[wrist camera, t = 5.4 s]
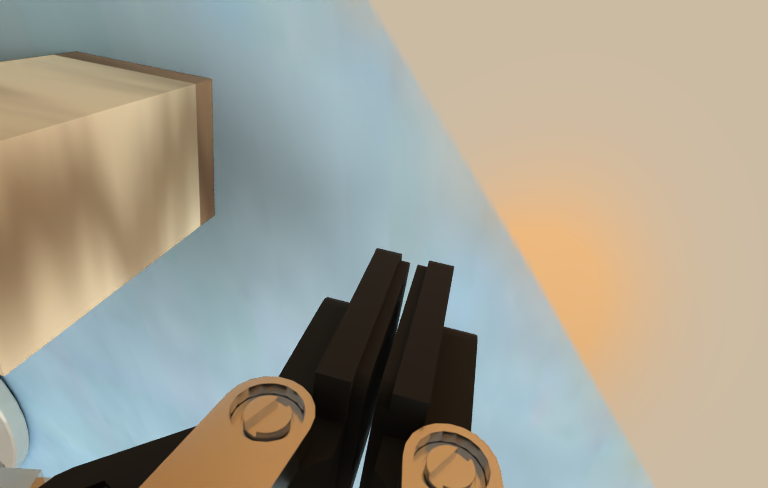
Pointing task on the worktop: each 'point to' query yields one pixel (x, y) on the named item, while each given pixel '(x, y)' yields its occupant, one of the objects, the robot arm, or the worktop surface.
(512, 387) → the worktop surface
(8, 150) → the birch block
